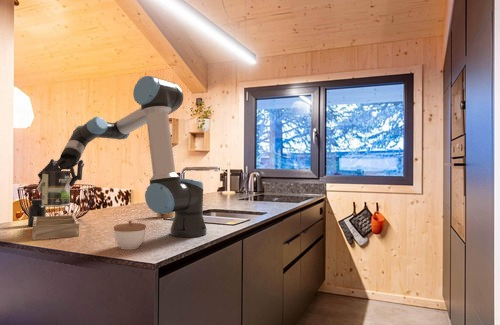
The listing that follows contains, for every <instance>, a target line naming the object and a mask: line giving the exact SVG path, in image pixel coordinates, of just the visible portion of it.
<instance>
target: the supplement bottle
mask: <svg viewBox="0 0 500 325" xmlns="http://www.w3.org/2000/svg"><path fill="white" fill-rule="evenodd" d="M30 204H31V205H29V207H28V215H27V221H28V222H27V226H28V227H33V221H34V217H46V209H47V208H46V207H44V206H42V198H38V199H37V198H34V199H31V203H30Z"/></svg>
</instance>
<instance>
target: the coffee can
mask: <svg viewBox="0 0 500 325" xmlns="http://www.w3.org/2000/svg"><path fill="white" fill-rule="evenodd" d="M41 171H42V170H41ZM42 173H43V174H42V193H41V199H42V206H44V207H48V208H49V207H50V208H51V207H52V208H53V207H54V208H55V207H56V208H59V207H68V206H70V205H71V203H70V202H71V189H70V190H69V192H68V194H66V193H65V191H64V187H65V185H66V183H67V181H68V179H69V177H71V171H70V170H61V171H42Z"/></svg>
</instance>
